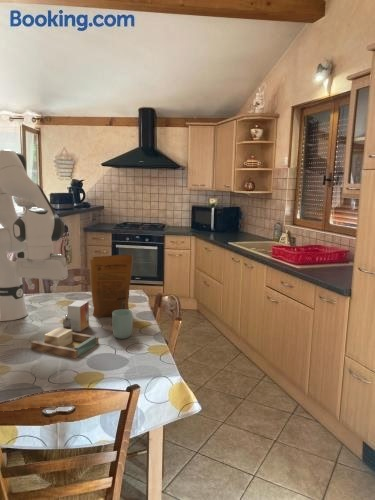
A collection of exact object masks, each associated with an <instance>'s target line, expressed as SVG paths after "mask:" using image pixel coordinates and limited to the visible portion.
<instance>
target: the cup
mask: <svg viewBox="0 0 375 500" xmlns="http://www.w3.org/2000/svg"><path fill="white" fill-rule="evenodd" d="M133 316H134V315H133V311H132V310H131V309H129V310H127V309H120V310H115V311H113V313H112V316H111V317H112V318H111V319H112V321H111V325H112V326H111V327H112V333H113V335H114V337H115V338H117V339H121V340H122V339H123V340H125V339H128V338H130V336H131V335H132V332H133Z"/></svg>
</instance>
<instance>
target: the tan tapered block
mask: <svg viewBox="0 0 375 500" xmlns="http://www.w3.org/2000/svg"><path fill="white" fill-rule="evenodd" d="M43 338H44V340H43V341H44V342H43V343H47V344H52V345H57V346H62V347H67V346H68V345H70V344H72V343H73V340H72V330H70V329H65V328H63V327H57V328H55V329H53V330H51V331H48V332H47V333H45V334H44V337H43Z"/></svg>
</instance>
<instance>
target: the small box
mask: <svg viewBox="0 0 375 500" xmlns="http://www.w3.org/2000/svg"><path fill="white" fill-rule="evenodd" d="M89 303H90V302H89V301H86V300H75V301H73V302H72V303H70V304H68V305H67V314H68V318H69V319H71V330H72V331H73V332H78V333H79V332H82V331H83V330H84V329H86V328H88V327H89V325H90V314H89V312H90V307H89V305H90V304H89Z"/></svg>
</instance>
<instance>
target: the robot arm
mask: <svg viewBox="0 0 375 500" xmlns="http://www.w3.org/2000/svg"><path fill="white" fill-rule="evenodd" d="M26 170H27V160H26V158H25V156H24V155H23V154H22V153H20V152H18V151H14V150H11V149H5V148H4V149H0V226H2V227H0V322H5V321H8V322H9V321H14V320H15V321H16V320H19V319H23V318H24V317H27V316H28V315H29V313H28V307H27V304H26V301H25V300H26V299H25V294H24V292H25V285H24V282H23V278H24V281H25V283H26V285H27V289H28V290H29V291H31V290H33V291H34V290H35V287H36V286H35V284H34V283H33V281H32V279H35V280H36V279H37V280H51V281H52V285H51V286H49V288H50V292H55V293H56V292H57V291H58V290H57V289H58V287H57V286H58V284H59V283H60V281H64V280H66V279H68V277H69V272H68V266H67V258H66V257H65V256H64V255H63V254H61V253H59V254H57V253H54V244H53V242H58V241H59V240H60V239H61V238H62V237H63V236H64V233H65V231H66V230H65V229H66V228H65V223H64V222H63V220H62V218H61V217H60V216H59V215H58V214H57V212H56V211H55V209H54V207H53V205H52V204H51V202H50V200H49V199H48V197H47V195H46V193H45V191H44V190H43V188H42V187H41V186H40V185H39V184H38V183H36V182H34V181H33V180H32V179H31V178H30V177H29V175H28V173H27V172H26ZM13 197H15V198H18V199H22V200H26V201H27V202H28V201H29V202H31V203H32V204H33V205H35V206H36V207H33V208H29V209H27V210H26V212H25V213H26V214H25V215H24V216H22V217H19V216H18V213H17V211H16V207H15V205H14V200H13ZM8 254H14V255H15V256H14V257H15V258H16V260H15V261H14V260H11V259H9V258H8Z"/></svg>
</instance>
